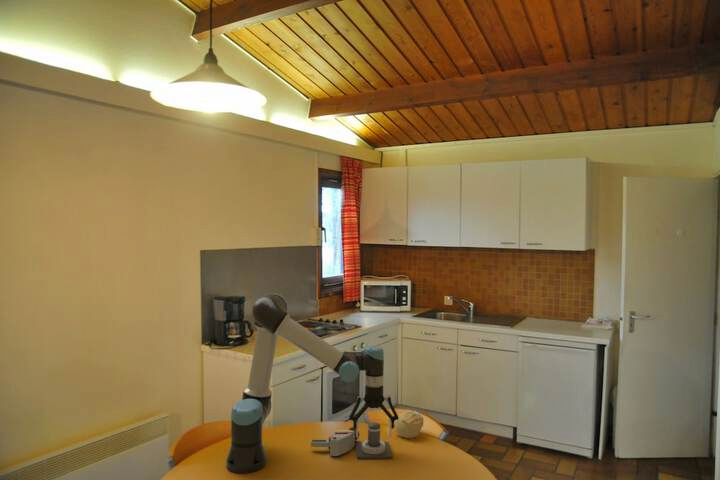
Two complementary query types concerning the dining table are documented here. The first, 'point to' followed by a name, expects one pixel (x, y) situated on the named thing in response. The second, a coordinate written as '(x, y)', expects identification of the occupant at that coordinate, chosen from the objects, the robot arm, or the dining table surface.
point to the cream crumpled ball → (409, 424)
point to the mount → (373, 451)
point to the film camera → (338, 442)
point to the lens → (373, 435)
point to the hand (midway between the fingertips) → (373, 436)
